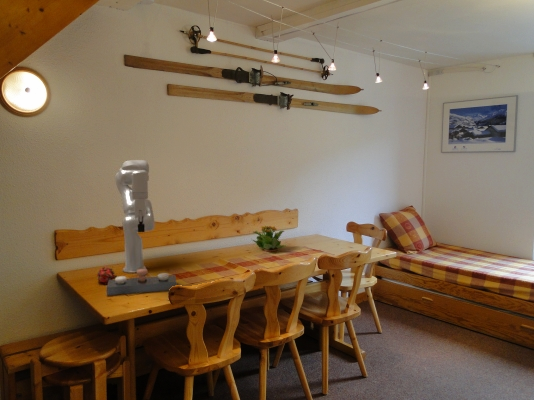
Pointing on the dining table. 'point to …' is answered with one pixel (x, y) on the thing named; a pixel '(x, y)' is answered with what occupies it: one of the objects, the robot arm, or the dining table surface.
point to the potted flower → (269, 239)
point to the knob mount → (140, 285)
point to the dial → (142, 274)
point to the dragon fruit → (105, 275)
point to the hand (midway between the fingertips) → (141, 231)
